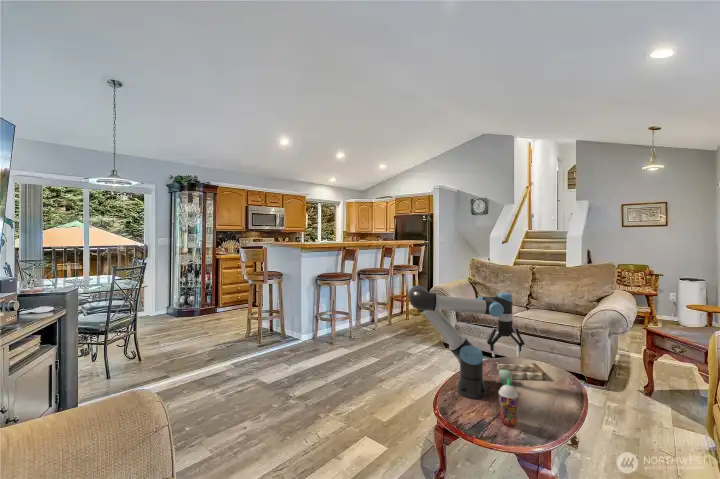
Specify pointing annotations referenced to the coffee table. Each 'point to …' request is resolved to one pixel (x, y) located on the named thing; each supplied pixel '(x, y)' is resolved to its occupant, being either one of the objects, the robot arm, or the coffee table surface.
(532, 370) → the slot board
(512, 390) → the smoothie
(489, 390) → the coffee table surface
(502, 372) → the pale green rounded lump
